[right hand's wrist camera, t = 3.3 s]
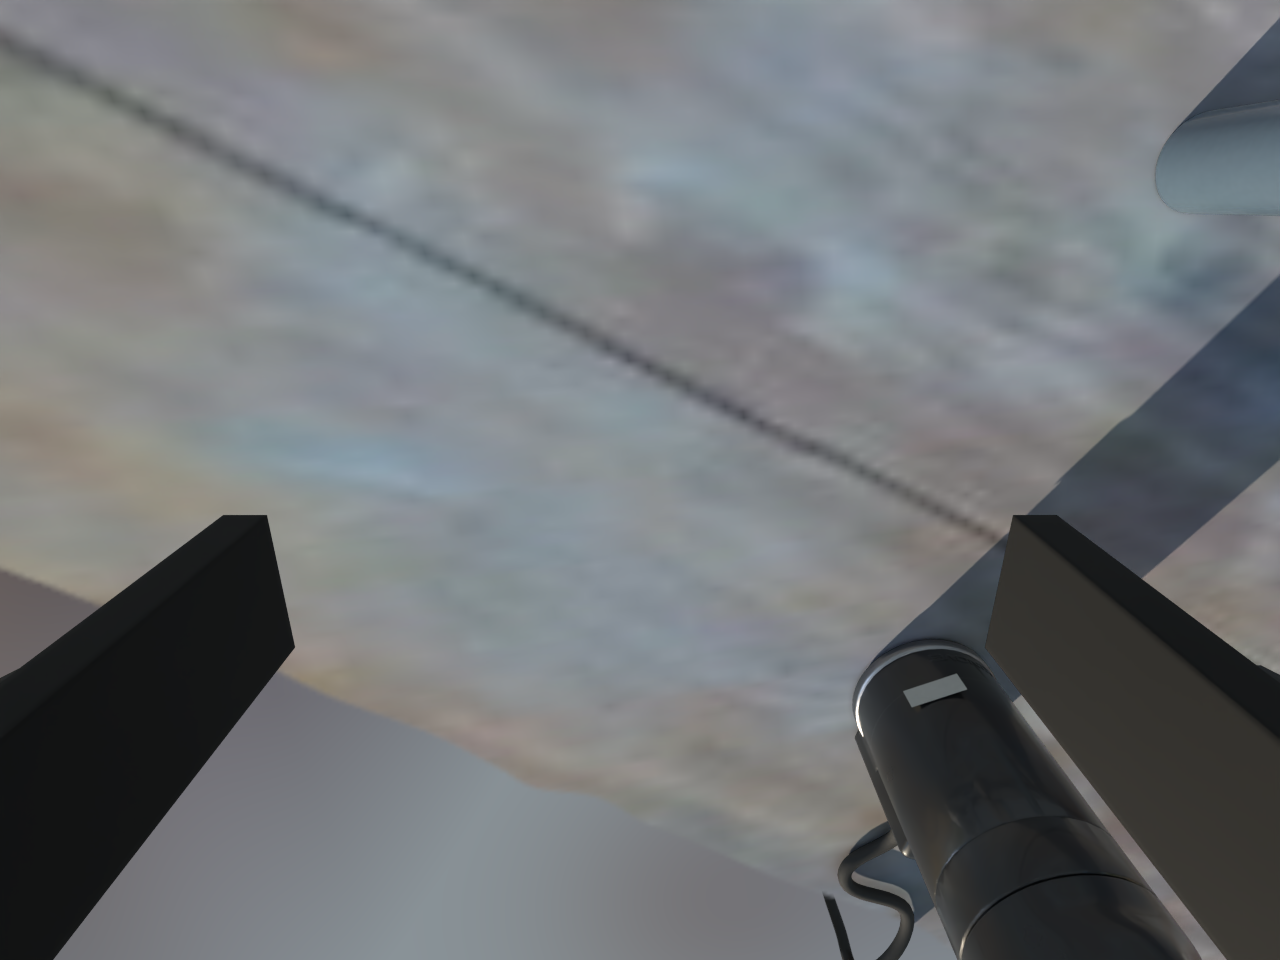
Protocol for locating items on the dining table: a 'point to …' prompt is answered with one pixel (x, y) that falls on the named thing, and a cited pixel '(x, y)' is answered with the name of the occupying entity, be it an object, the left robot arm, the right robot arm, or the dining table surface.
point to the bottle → (1224, 162)
